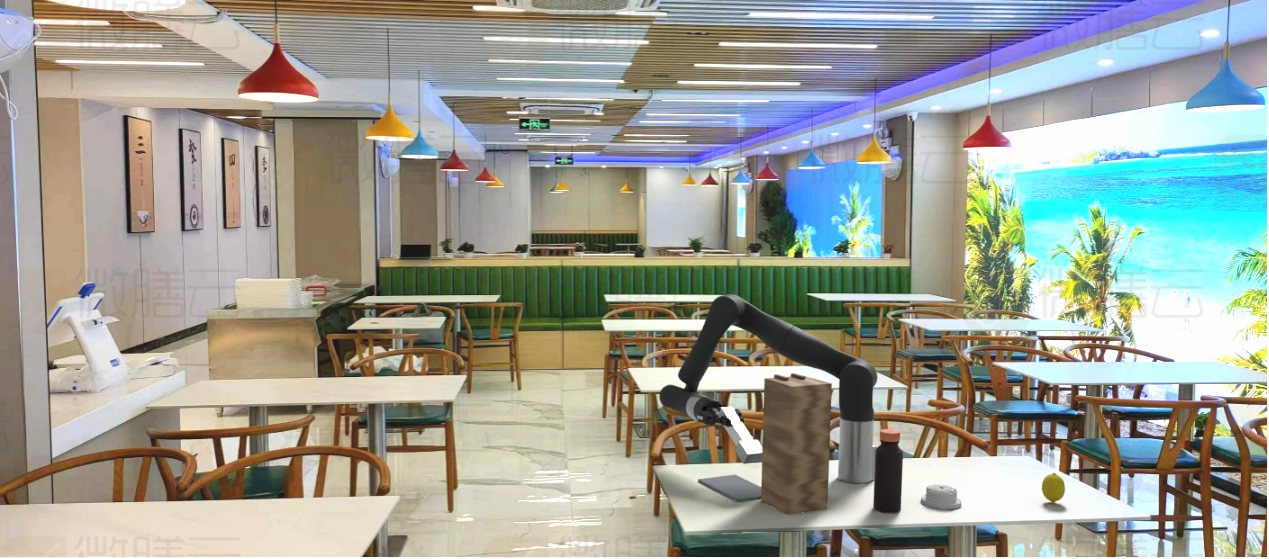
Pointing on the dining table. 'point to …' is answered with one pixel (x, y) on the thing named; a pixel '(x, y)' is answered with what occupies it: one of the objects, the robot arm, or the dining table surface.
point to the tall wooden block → (796, 443)
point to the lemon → (1053, 487)
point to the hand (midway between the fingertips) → (736, 422)
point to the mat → (733, 487)
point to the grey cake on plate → (941, 497)
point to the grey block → (742, 438)
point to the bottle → (888, 473)
